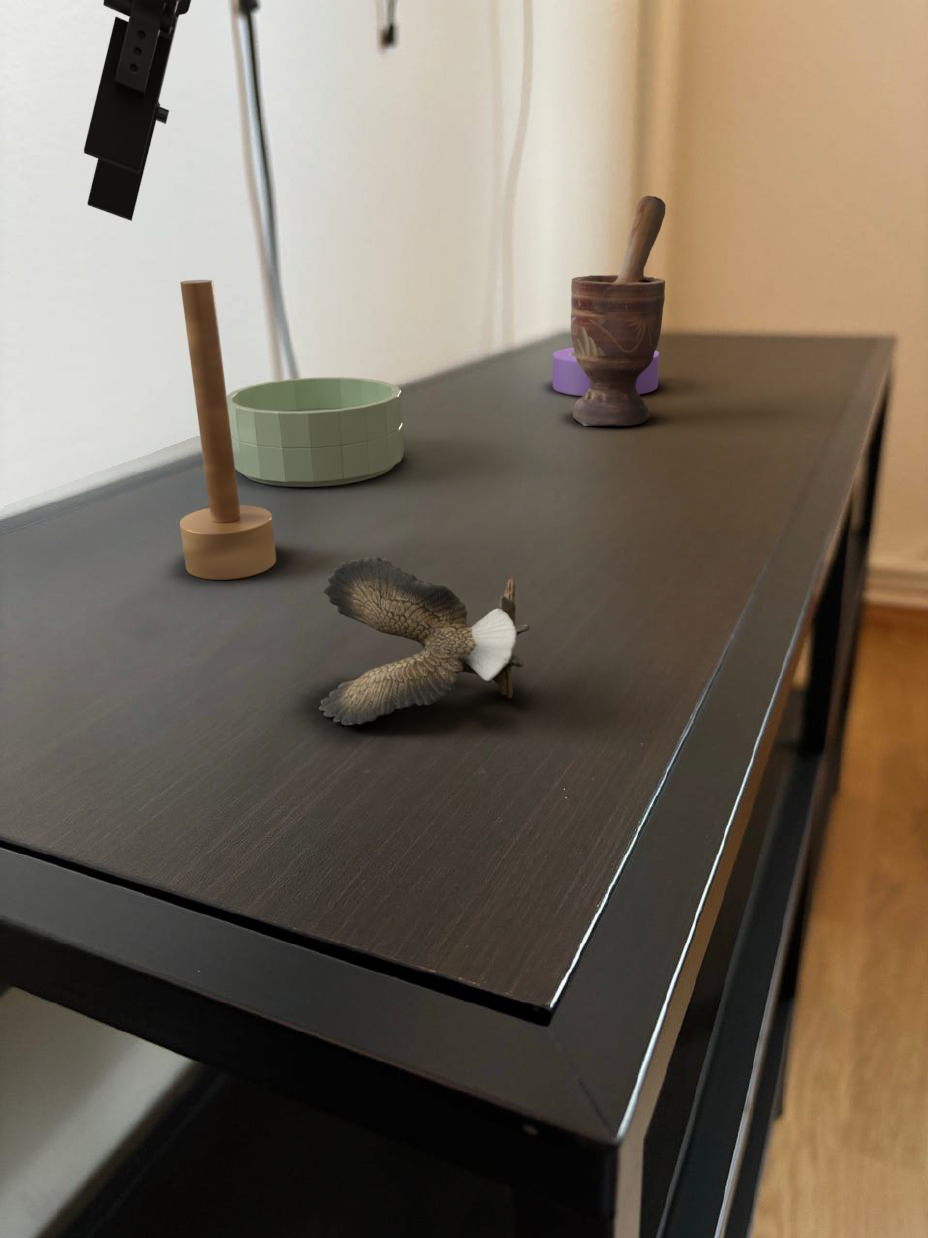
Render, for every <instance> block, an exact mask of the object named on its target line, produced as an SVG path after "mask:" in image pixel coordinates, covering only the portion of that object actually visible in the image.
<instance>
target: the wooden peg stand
mask: <svg viewBox="0 0 928 1238" xmlns="http://www.w3.org/2000/svg"><path fill="white" fill-rule="evenodd" d="M180 291H181V298H182V307H183V315H184V323H185V330H186V337H187V345H188V354H189V361H190V368H191V376H192V377H191V378H192V383H193V384H192V385H193V390H194V391H193V392H194V398H195V407H196V414H197V421H198V430H199V438H200V445H201V452H202V459H203V467H204V477H205V484H206V492H207V498H208V505H209V507H206V508H202V509H200V510H196V511H194V512H191V513H189V514H187V515H185V516H183V517H182V518H181V520H180V522H179V531H180V537H181V543H182V551H183V557H184V564H185V569H186V571H187V572H188V574H190V575H191V576H193V577H196V578H198V579H205V580H213V581H227V580H229V581H230V580H238V579H243V578H248V577H252V576H256V575H259V574H261V573H264V572H265V571H268V570H269V569H271V568H272V567H274V566H275V564H276V562H277V553H276V542H275V534H274V524H273V515H272V513H271V512H270V510H267V509H265V508H264V507H260V506H254V505H248V504H247V505H246V504H240V499H239V490H238V481H237V474H236V470H235V464H234V455H233V447H232V438H231V430H230V421H229V412H228V404H227V395H228V394H227V387H226V380H225V379H226V378H225V372H224V362H223V353H222V345H221V337H220V328H219V327H220V326H219V320H218V311H217V303H216V301H217V300H216V295H215V293H216V292H215V285H214V281H213V280H211V279H190V280H189V279H188V280H183V281H180Z"/></svg>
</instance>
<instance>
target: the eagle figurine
mask: <svg viewBox="0 0 928 1238" xmlns="http://www.w3.org/2000/svg"><path fill="white" fill-rule="evenodd" d="M326 579H327V582H328V585H326V586H325V587H324V589H323V591H322V592H323V593H324V594H325V595H326V596H328V602H329V603H330V604H332V605H333V606H336V607H337V608H336V612H337V613H338V614H341V615H343V616H345V617H347V618H350V619H352V620H355V621H357V622H359V623H362V624H364V625H366V626H368V627H370V628H372V629H374V630H376V632H380V633H382V634H387V635H390V636H396V637H400V638H401V637H402V638H405V639H407V640H411V641H415V642H417V643H418V644H420V645H421V647H423V649H422V650H421V651H419V652H417V653H415V654H413V655H410V656H407V657H405V658H402V659H399V660H396V661H392V662H390V663H385V664H383V665H381V666H378V667H375V668H372V669H370V670H367V671H366V672H365V673H363V674H362V675H361V676H359V677H358V678H357V679H353V680H347V681H344V682H341V683H340V684H339V685H338V687H337V688H335V689H334V690H332V691H330V692H329V694H328V697H325V698H323V699H321V700H320V706H319V708H318V710H319V711H321V712H323V716H325V717H326V718H333V722H334V723H339V722H341V724H342V725H344V726H353V725H356V724H357V725H363V724H366V723H368V722H373V721H376V720H377V719H378V717H379V716H386V715H390V714H392V713H393V712H395V710H396V709H397V710H403V709H404V708H410V707H412V706H413V705H415V704H416V705H417V706H419V707H421V706H424V705H425V706H431V705H432V704H435V703H438V702H439V701H440V700H441V699H442V698H446V697H449V696H450V694H451V692H452V691H454V690H455V683H456V682H457V681H458V680H459V678H460V676H459V673H468V674H475V675H477V676H480V678H481V679H482V680H484V681H486V682H490V681H493V682H495V683H496V684H497V685H498V687H499V691H500V694H501V695H502V696H506V697H507V698H508V699H509V700H510V699H512V697H513V693H514V689H513V683H512V668H513V667H516V668H523V667H524V665H525V663H524V661H523V660H521V659H520V657H519V656H517V655H514V651H515V648H516V644H517V636H518V635H521V634H522V633H525V632H528V631H529V629H530V625H529V624H526V623H525V624H521V625H516V611H517V609H516V603H515V601H516V579H515V578H514V577H512V578H509V580H508V581H507V584H506V588H505V590H504V593H503V595H500V598H499V608H498V607H497V608H494V609H492V610H491V611H489V612H488V613H487V614H486V615H484V616H483V617H482V618H481V619H479V620H478V621H477V622H475V623H474V624H473V625H467V615H468V610H467V609H466V604H465V602H463V601H461V598H460V597H458V596H457V594H456V593H454V592H453V591H452V590H451V589H449V588H448V587H447V586H446V585H445V584H443V583H432V582H431V583H430V582H429V583H427V582H425V581H424V580H421V579H418V578H417V577H416V575H415V574H413V573H409V572H406V571H403V570H402V569H401V568H400V567H398V566H394V565H393V563H392V562H391V561H390V560H389V559H387V558H383V559H382V558H381V557H379V556H375V557H374V559H373V558H371V557H366V558H362V557H360V558H358V559H351V560H350V561H342V562H341V563H340V567H336V568H334V569H333V573H332V574H331V575H329V576H328V577H327V578H326Z"/></svg>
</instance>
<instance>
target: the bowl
mask: <svg viewBox="0 0 928 1238" xmlns="http://www.w3.org/2000/svg"><path fill="white" fill-rule="evenodd" d="M226 395H227V404H228V412H229V421H230V430H231V438H232V447H233V455H234V464H235V471H237V472H239V473H240V474H242V475H243V476H244V477H245V478H247V479H249V480H251V481H254V482H257V483H261V484H265V485H271V486H277V487H289V488H317V487H318V488H319V487H320V488H321V487H331V486H332V487H333V486H339V485H340V486H341V485H347V484H352V483H358V482H362V481H366V480H369V479H374V478H376V477H379V476H381V475H384V474H386V473H387V472H390V471H391V470H392V469H393V468H394V466H395V465H397V464H399V463H400V462H402V460H403V457H404V454H405V449H404V448H405V447H404V446H405V445H404V427H403V425H404V424H403V405H402V403H403V401H402V390H401V389H400V388H399V387H398V385H395V384H393V383H392V384H391V383H389V382H386V381H383V380H377V379H371V378H364V377H363V378H361V377H344V376H333V377H332V376H329V377H328V376H326V377H325V376H323V377H322V376H321V377H320V376H319V377H318V376H317V377H315V376H314V377H302V378H301V377H300V378H288V379H281V380H272V381H266V382H261V383H256V384H252V385H248V386H244V387H241V388H239V389H236V390H233V391H231V392H230V393H228V394H226Z"/></svg>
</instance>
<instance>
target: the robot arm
mask: <svg viewBox="0 0 928 1238" xmlns="http://www.w3.org/2000/svg"><path fill="white" fill-rule="evenodd" d="M191 3H192V0H103V3H102V4H103V6H104V7H105V8H108V9H111V10H113V11H115V12H117V13H120V14H122V15H124V16H126V17H128V20H126V19H123V18H121V17H119V16H115V17H114V22H113V24H112V30H111V33H110V38H109V41H108V42H109V43H108V46H107V51H106V55H105V59H104V62H103V66H102V67H103V68H102V72H101V75H100V76H101V77H100V79H99V84H98V88H97V93H96V97H95V101H94V104H93V110H92V114H91V117H90V118H91V119H90V122H89V127H88V130H87V135H86V139H85V143H84V147H83V154H85V155H87V156H90V157H93V158H95V159H97V161H96V165H95V170H94V174H93V177H92V182H91V186H90V190H89V195H88V199H87V206H88V207H89V206H90V207H92V208H95V209H97V210H100V211H103V212H106V213H108V214H112V215H114V216H117V217H118V218H119V217H120V218H122V219H125V220H127V221H130V222H132V221H133V217H134V213H135V209H136V205H137V200H138V196H139V192H140V188H141V185H142V181H143V176H144V172H145V168H146V164H147V159H148V156H149V151H150V148H151V144H152V140H153V136H154V132H155V127H156V123H157V122H160V123H162V124H164V125H166V124H167V122H168V117H169V113H170V109H167V108H164V107H163V106H161V103H160V97H161V93H162V90H163V85H164V82H165V81H164V80H165V76H166V73H167V67H168V65H169V64H168V63H169V59H170V55H171V50H172V47H173V42H174V38H175V34H176V31H177V27H178V22H179V17H180V16H181V15H186V14H187V13H189V10H190V6H191Z"/></svg>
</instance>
